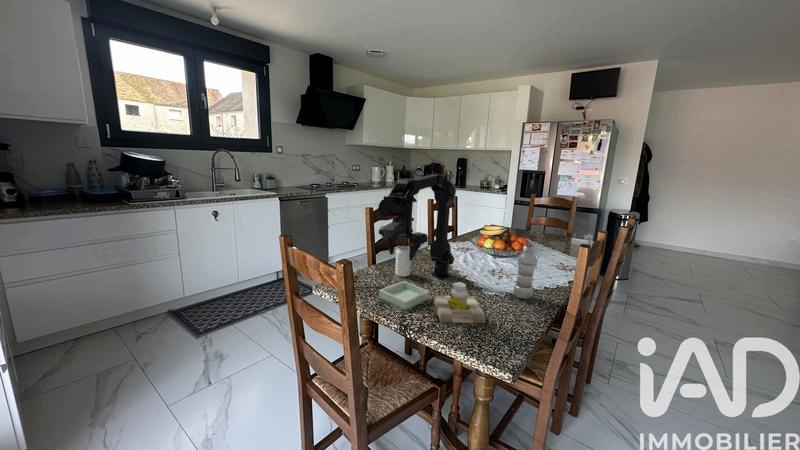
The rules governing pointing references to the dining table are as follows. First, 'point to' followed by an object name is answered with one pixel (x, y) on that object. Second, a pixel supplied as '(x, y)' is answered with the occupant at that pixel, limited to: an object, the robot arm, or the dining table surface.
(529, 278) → the plastic bottle
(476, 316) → the socket block
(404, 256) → the can
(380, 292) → the tray
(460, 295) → the supplement bottle
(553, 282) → the dining table surface
